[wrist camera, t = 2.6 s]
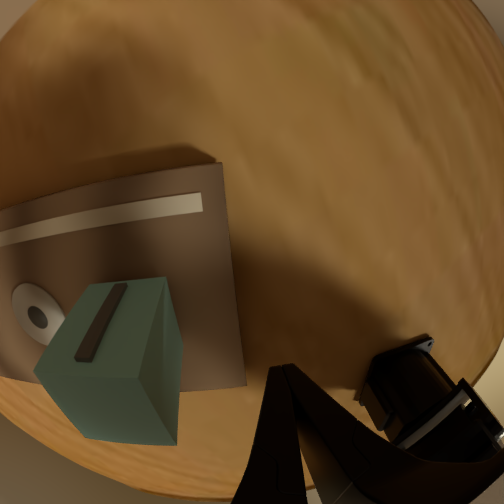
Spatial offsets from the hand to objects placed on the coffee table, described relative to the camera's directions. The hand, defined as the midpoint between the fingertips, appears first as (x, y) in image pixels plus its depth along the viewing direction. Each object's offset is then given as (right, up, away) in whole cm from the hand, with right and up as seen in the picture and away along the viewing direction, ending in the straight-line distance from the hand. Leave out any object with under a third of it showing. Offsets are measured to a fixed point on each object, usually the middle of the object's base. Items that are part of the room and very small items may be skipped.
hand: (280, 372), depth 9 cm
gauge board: (-13, +1, +4) cm, 14 cm away
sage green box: (-7, +1, +4) cm, 8 cm away
